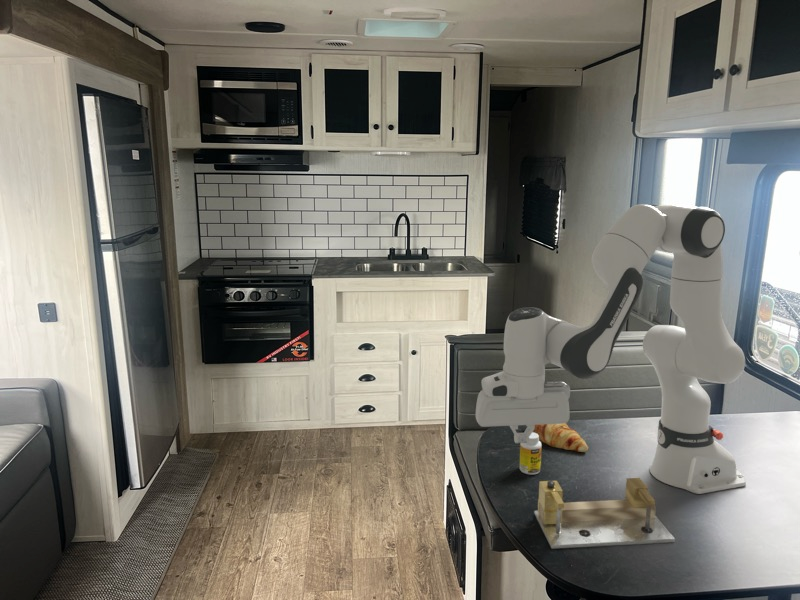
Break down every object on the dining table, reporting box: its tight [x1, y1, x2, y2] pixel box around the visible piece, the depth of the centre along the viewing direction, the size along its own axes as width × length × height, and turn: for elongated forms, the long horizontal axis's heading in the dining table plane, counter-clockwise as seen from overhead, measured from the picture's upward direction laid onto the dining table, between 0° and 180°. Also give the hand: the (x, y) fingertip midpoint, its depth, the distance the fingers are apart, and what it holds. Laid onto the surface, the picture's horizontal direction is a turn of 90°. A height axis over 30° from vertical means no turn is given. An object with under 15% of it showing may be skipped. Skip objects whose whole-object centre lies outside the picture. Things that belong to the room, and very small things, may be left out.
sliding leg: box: [537, 480, 565, 534], centre depth 131 cm, size 4×10×9 cm, turn 3°
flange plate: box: [533, 510, 676, 550], centre depth 132 cm, size 27×13×1 cm, turn 93°
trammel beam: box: [539, 477, 657, 530], centre depth 132 cm, size 26×9×8 cm, turn 93°
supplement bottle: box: [519, 432, 543, 476], centre depth 157 cm, size 6×6×10 cm
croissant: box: [533, 423, 589, 453], centre depth 174 cm, size 21×10×8 cm, turn 41°
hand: (521, 441), depth 130 cm, fingers closed
